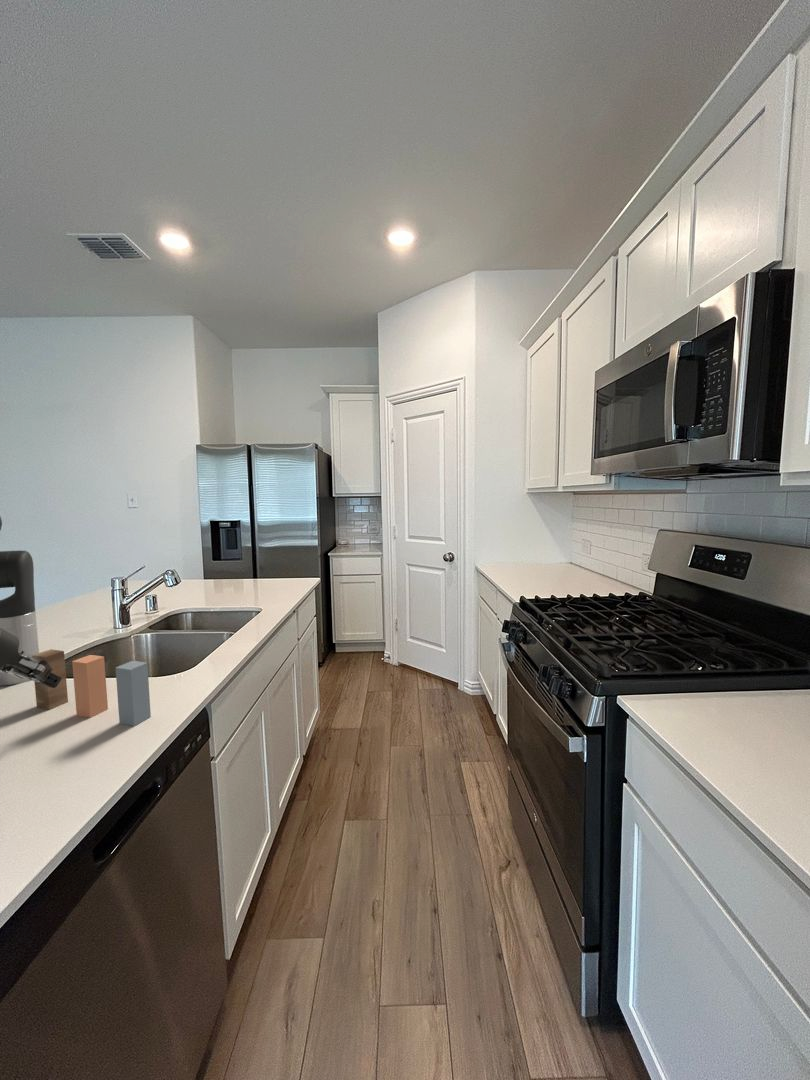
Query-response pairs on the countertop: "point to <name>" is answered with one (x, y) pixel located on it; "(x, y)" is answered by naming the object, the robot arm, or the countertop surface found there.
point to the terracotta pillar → (90, 685)
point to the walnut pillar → (57, 695)
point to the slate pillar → (133, 693)
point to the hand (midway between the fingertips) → (55, 683)
